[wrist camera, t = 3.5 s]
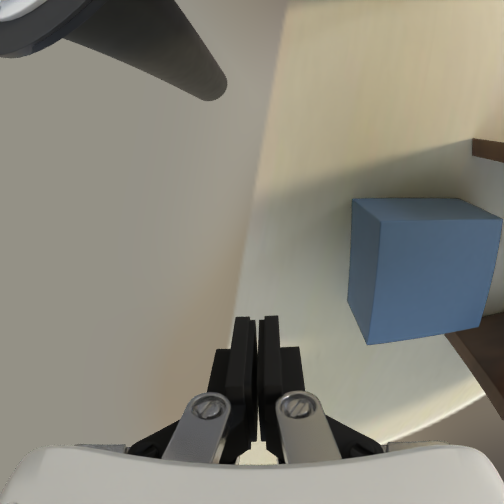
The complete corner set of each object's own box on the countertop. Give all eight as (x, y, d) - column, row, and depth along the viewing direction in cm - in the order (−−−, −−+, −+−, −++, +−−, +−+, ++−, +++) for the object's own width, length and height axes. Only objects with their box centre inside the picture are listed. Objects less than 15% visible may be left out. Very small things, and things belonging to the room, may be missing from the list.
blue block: (346, 301, 21) (366, 345, 16) (351, 198, 18) (380, 221, 14) (445, 291, 20) (479, 327, 16) (458, 198, 18) (503, 219, 13)
